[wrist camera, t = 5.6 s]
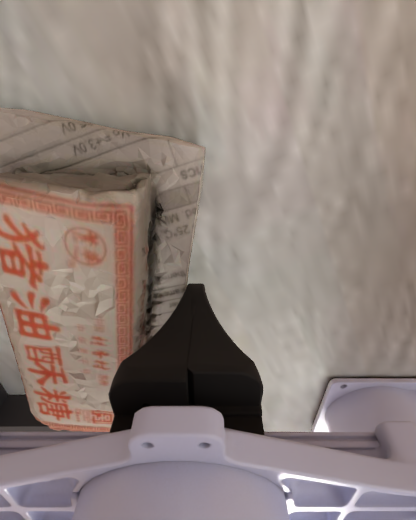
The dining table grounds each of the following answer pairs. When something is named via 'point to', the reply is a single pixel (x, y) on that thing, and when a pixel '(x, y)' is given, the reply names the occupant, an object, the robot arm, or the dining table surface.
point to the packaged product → (89, 254)
